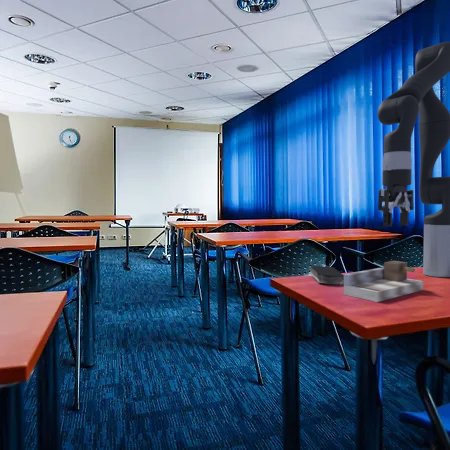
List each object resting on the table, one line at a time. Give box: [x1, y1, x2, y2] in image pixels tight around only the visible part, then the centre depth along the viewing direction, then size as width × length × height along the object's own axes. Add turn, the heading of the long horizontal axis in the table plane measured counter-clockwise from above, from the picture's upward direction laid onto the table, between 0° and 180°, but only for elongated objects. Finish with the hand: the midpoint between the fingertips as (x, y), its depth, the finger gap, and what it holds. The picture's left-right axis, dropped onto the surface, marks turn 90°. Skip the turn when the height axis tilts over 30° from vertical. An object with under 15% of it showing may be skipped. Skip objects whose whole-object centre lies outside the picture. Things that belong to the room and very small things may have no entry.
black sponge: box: [309, 265, 344, 286], centre depth 119 cm, size 16×8×4 cm, turn 176°
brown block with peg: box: [383, 260, 416, 282], centre depth 104 cm, size 5×8×5 cm, turn 35°
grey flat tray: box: [343, 266, 424, 303], centre depth 101 cm, size 22×10×6 cm, turn 125°
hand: (395, 225), depth 105 cm, fingers open, 8 cm apart
